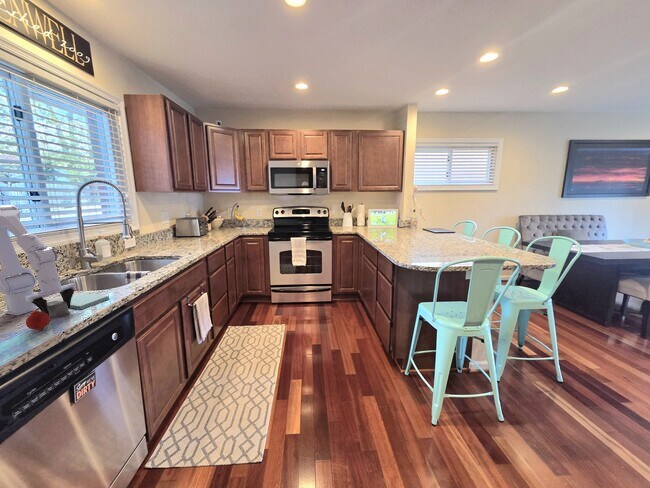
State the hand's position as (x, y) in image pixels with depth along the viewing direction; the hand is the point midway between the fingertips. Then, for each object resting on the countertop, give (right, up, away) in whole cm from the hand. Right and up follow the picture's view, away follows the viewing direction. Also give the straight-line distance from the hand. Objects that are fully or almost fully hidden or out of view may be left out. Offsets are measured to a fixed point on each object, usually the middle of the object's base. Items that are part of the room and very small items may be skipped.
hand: (57, 311), depth 105 cm
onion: (+7, -4, -12) cm, 14 cm away
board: (-1, +1, +12) cm, 12 cm away
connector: (-1, -1, +1) cm, 2 cm away
